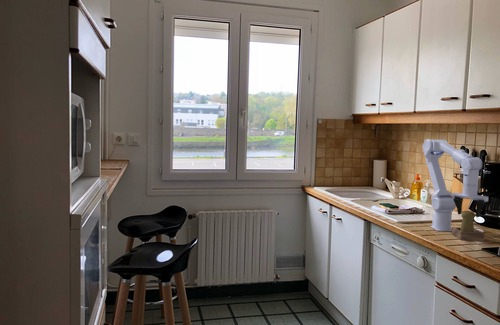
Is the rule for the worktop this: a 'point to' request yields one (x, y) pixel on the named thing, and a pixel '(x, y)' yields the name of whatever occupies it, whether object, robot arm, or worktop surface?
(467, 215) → the cork
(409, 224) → the worktop surface
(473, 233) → the holder
